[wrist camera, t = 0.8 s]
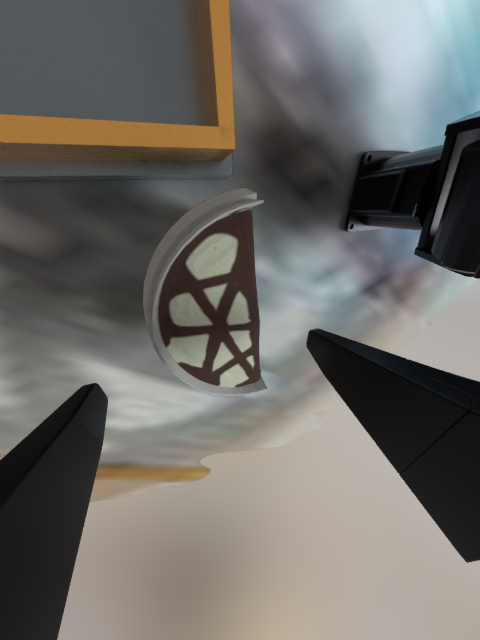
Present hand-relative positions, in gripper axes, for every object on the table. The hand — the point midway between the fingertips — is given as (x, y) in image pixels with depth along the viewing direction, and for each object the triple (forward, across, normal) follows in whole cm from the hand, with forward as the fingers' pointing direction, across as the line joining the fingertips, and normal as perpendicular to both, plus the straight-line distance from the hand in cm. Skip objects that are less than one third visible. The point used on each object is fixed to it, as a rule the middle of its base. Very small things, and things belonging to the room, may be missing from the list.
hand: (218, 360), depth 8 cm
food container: (+12, 0, 0) cm, 12 cm away
